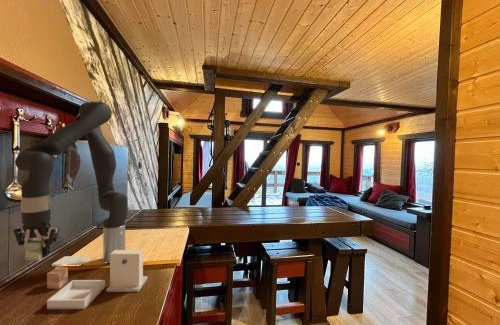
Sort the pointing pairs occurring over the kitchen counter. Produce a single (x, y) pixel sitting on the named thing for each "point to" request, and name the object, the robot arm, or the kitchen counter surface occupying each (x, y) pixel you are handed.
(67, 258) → the external hard drive
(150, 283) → the kitchen counter surface
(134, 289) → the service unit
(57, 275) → the terracotta block
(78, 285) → the tray
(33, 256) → the sage block
